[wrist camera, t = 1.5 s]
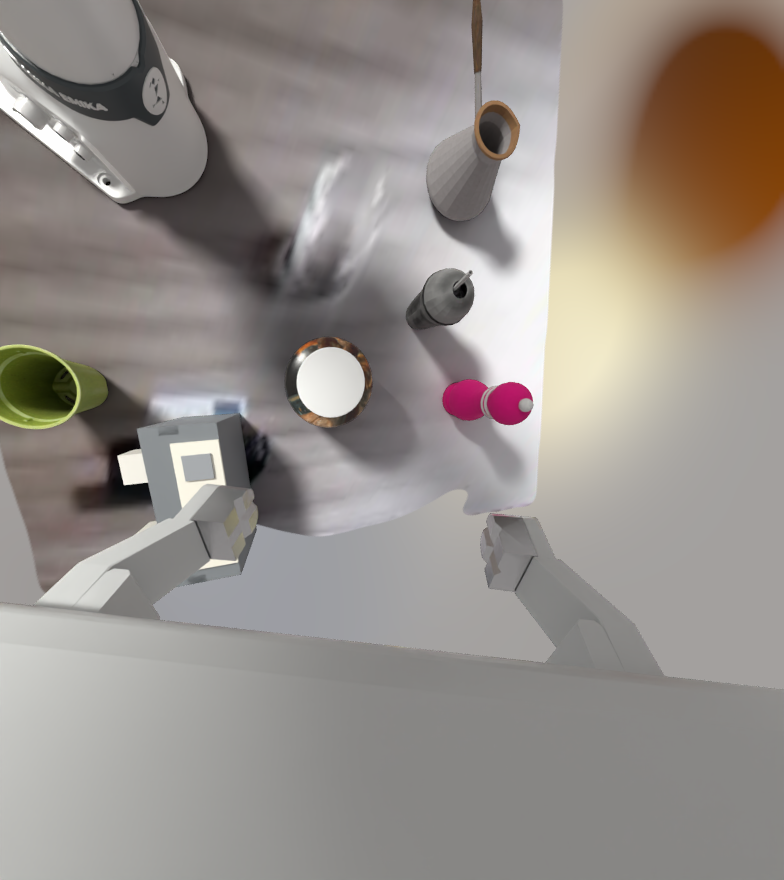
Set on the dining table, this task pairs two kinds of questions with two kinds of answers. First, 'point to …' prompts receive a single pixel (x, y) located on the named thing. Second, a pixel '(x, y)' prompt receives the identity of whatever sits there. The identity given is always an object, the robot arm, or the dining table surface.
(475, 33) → the coffee pot
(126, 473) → the button
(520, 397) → the pepper mill
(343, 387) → the jar
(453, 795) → the robot arm
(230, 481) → the console
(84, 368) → the plant pot
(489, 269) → the dining table surface
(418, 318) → the beverage cup
